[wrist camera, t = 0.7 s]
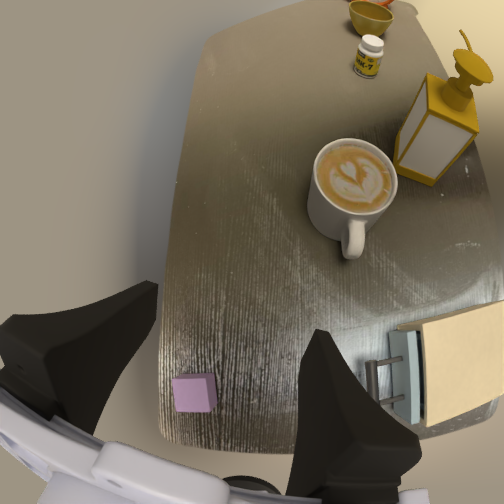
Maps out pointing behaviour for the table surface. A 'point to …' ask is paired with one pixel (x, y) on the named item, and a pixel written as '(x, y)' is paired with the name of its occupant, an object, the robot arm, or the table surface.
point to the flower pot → (369, 17)
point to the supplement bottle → (369, 56)
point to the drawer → (401, 375)
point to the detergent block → (195, 392)
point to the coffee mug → (350, 192)
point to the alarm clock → (379, 2)
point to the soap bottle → (440, 120)
